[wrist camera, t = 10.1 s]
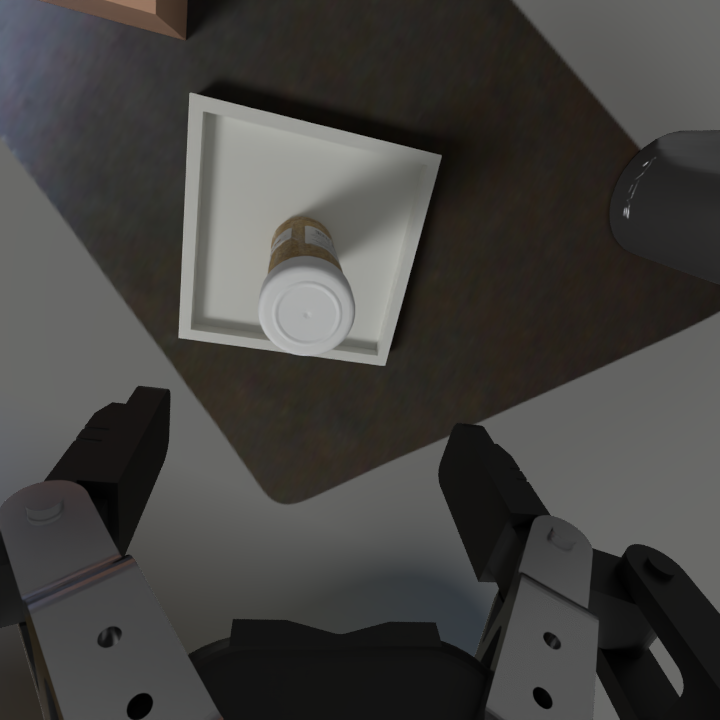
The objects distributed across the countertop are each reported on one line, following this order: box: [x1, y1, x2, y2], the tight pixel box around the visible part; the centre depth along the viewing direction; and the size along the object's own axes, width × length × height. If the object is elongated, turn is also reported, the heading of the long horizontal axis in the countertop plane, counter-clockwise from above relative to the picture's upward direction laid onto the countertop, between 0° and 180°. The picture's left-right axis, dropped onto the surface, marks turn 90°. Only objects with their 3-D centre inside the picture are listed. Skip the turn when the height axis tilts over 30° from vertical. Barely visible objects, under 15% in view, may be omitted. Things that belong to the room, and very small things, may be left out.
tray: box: [179, 93, 442, 366], centre depth 32 cm, size 16×16×2 cm
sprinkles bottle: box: [258, 217, 355, 356], centre depth 26 cm, size 5×5×14 cm
